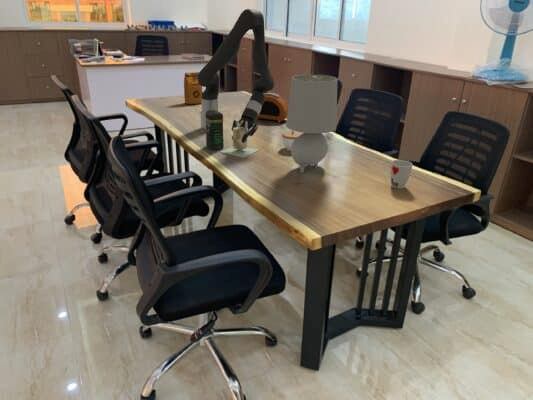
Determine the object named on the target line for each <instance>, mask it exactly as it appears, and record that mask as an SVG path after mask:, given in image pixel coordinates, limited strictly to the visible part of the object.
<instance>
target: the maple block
mask: <svg viewBox="0 0 533 400" xmlns="http://www.w3.org/2000/svg"><path fill="white" fill-rule="evenodd" d="M245 131H246V128H244V127H236V128H233V131H232V136H233V140H232V147H233V149H237V150H243V149H246V148H247V147H248V139H247V140H246V142H244V143H243V142H242V141H241V140H242V138H243V136H244V134H245Z"/></svg>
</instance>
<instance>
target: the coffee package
mask: <svg viewBox="0 0 533 400" xmlns="http://www.w3.org/2000/svg"><path fill="white" fill-rule="evenodd" d="M199 72H200V71H195V72H194V71H193V72H185V73H184V77H183V91H184V93H183V94H184V103H185V104H187V105H198V104H202V100H201V94H202V93H203V92H204V91H203V87H202V86H201V85H199V83H198V80H197V79H198V74H199Z"/></svg>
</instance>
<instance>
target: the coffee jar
mask: <svg viewBox="0 0 533 400" xmlns="http://www.w3.org/2000/svg"><path fill="white" fill-rule="evenodd" d="M205 119H206V130H205V134H206V135H205V138H206V139H205V140H206V143H205V144H206V147H207V149H210V150H217V151H218V150H221V149H224V114H223V113H222V112H220V111H219V110H218V111H216V110H208V111H207V112H206V115H205Z"/></svg>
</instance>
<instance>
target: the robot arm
mask: <svg viewBox="0 0 533 400" xmlns="http://www.w3.org/2000/svg"><path fill="white" fill-rule="evenodd" d="M264 18H265V17H264V15H263V12H262V11H260V10H258V9H253V8H246V9H244V10H243V11H241V13H239V16H238V18H237V20H236V21H235V23H234V24H233V27H232V28H231V30H230V31H229V33H228V34H227V36H226V37H225V39H224V40H223V41H222V42H221V44H220V45H219V47H218V48H217V50H216V51H215V53H214V54H213V55H212V57H211V58H210V60H208V62H207V63H206V64H205V65H204V66H203V67H202V69H200V71H198V72H199V74H198V79H197V80H198V83H199V85H201V86H202V88H205V89H204V91H203V93H202V94H201V100H202V103H201V111H200V127H201V129H203V130H205V131H206V119H205V115H206V112H207V111H208V110H216V111H218V112H219V93H220V74H219V71H221V70H222V69H223V68H224V67H226V66H227V65H228V64H230V63H231V62H232V61H233V59H234V58H235V57H237V54H238V52H239V51H240V48H241V43H242V40H243V38H244V37H245V35H246V34H247V32H248V31H250V30H251V31H252V33H253V39H254V40H253V48H252V63H253V68H254V71H255V73H256V74H259V75H260V78H258V79H256V81H255V82H254V84H253V87H252V92H251V96H250V98H249V100H248V102H247V103H246V105H245V107H244V110H243V111H242V113H241V115H240V119H239V120H236V119H234V120H232V121H233V122H232V126H231V131H232V132H233V128H236V127H244V128H246V131H245V134H244V136H243V138H242V140H241V141H242V142H243V143H244V142H246V140H247V141H248V138H249V137H253V136H254V134H255V133H256V131H257V130H258V129H259V126H258V124H257V123H256V121H257V120H258V119H257V117H258V115H259V113H260V111H261V108H262V105H263V103H264V101H265V96H264V95H263V94H264V93H268V92H270V91H272V90H273V89H274V87H275V79H274V77H273V74H272V72H271V71H270V67H269V64H268V63H269V62H268V57H267V52H266V43H265V42H266V41H265V40H266V37H265V19H264ZM256 119H257V120H256ZM231 140H232V141H233V135H232V136H231Z"/></svg>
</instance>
